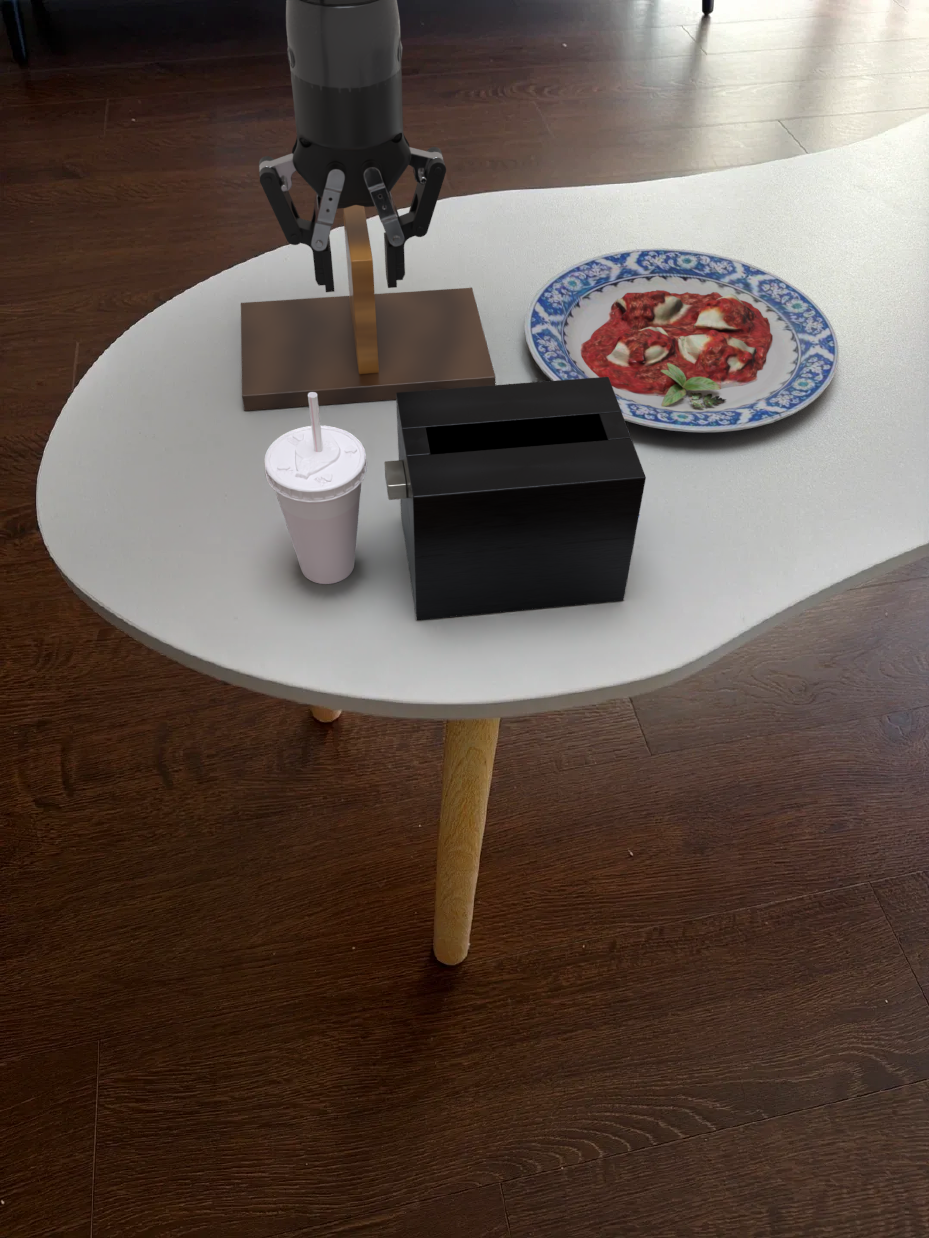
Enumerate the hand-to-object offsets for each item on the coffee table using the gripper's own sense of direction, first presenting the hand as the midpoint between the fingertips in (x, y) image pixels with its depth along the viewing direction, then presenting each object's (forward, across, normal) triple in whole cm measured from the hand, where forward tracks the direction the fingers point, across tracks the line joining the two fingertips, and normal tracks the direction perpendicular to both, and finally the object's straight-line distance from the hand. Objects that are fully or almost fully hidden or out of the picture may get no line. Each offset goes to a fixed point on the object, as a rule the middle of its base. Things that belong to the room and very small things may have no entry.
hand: (360, 283), depth 87 cm
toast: (+5, 0, 0) cm, 5 cm away
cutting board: (+7, 0, 0) cm, 7 cm away
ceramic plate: (+7, -26, +3) cm, 27 cm away
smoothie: (+7, +4, +24) cm, 25 cm away
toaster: (+7, -8, +25) cm, 27 cm away
